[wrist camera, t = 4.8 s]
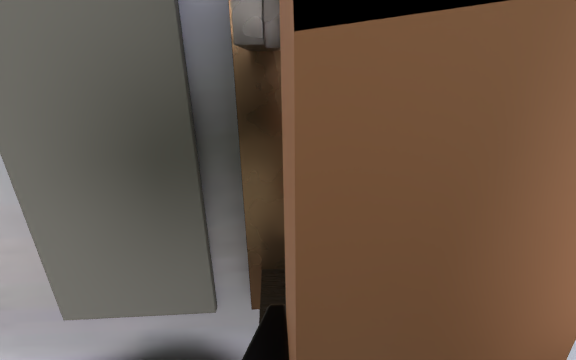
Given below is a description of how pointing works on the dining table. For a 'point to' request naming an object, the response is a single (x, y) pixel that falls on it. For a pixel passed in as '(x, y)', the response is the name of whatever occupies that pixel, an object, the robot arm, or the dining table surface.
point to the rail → (429, 178)
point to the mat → (106, 154)
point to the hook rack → (260, 144)
